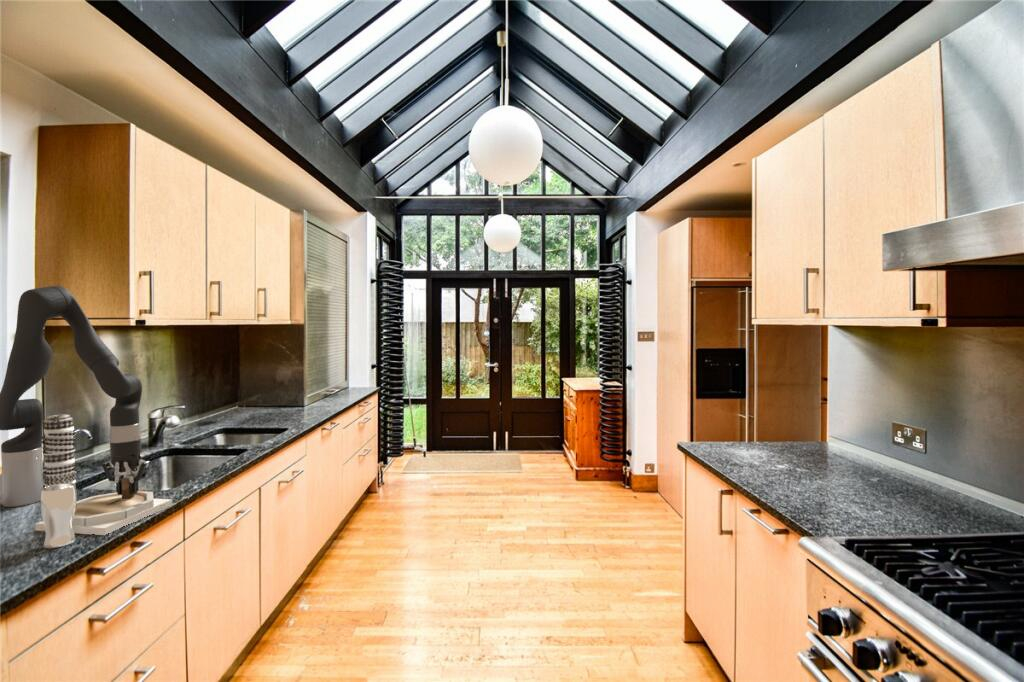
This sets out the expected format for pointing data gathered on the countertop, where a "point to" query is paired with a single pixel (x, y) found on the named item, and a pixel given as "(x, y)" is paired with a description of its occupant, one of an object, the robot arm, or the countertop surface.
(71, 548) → the countertop surface
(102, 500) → the dial
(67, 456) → the decorative candle
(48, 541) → the beer glass
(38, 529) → the dial housing
